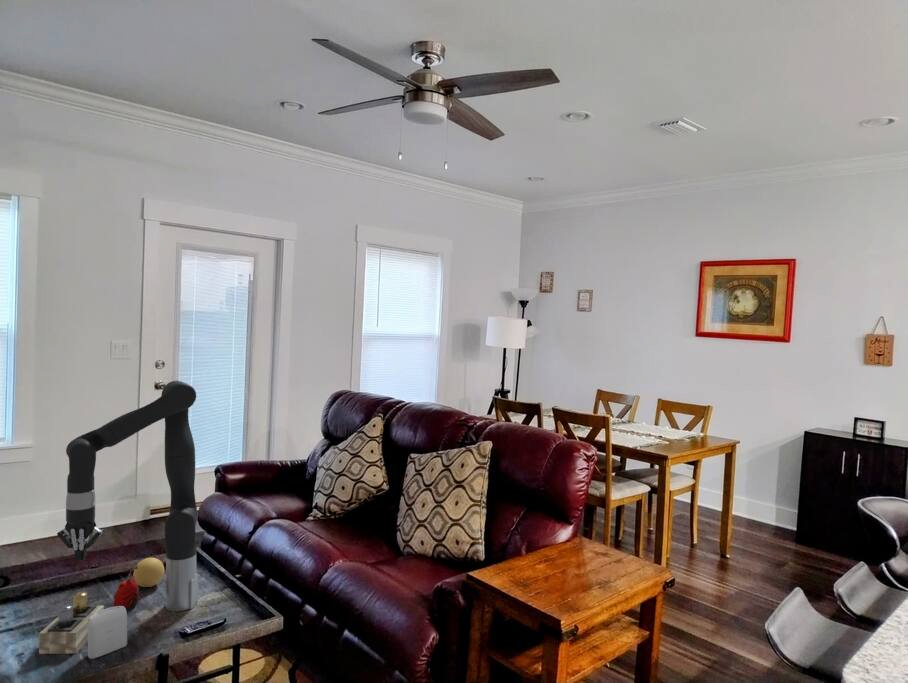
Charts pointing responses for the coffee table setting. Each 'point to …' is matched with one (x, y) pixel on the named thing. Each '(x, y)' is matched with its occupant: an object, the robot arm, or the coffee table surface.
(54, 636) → the birch block
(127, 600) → the red clay folk toy
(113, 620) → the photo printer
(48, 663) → the coffee table surface
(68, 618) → the peg steel
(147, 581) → the stress ball
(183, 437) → the robot arm
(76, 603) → the peg brass
